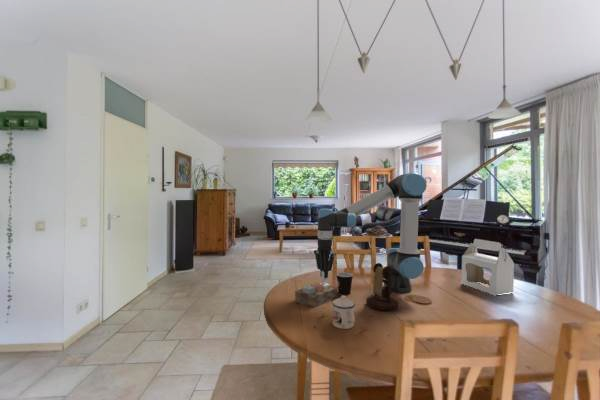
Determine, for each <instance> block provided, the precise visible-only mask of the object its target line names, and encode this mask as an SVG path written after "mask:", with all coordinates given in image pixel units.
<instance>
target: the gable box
mask: <svg viewBox="0 0 600 400" xmlns="http://www.w3.org/2000/svg"><path fill="white" fill-rule="evenodd" d="M503 246H504V244H502V243H501V242H499V241H493V240H492V241H491V240H486V239H480V238H474V240H473V243H472V242H470V244H469V246H468V248H467V249H466V250H465V251H464V252H463V254H462V255H461V285H462V284H464V285H463V286H465V285H467V286H466V287H468V286H470V287H473V288H476V289H479V290H482V291H485V292H488V293H492V294H494V295H498V294H503V293H509V292H513V293H514V281H515V278H514V275H515V262H514V261H513V259H512V257H511V256H510V254H509V253H508V251H507V249H505V248H503ZM478 248H482V249H488V250H493V251H497V252H498V256H493V255H487V254H485V253H479V252H478ZM485 268H486V269H489V270H490V271H491V275H490V276H489V280H488V279H485V277H484V275H485V271H484V269H485ZM477 282H481V283H484V284H488V285H489V287H485V286H483V285H481V284H480V283H477ZM470 287H469V288H470ZM473 288H472V289H473ZM476 289H475V290H476ZM479 290H478V291H479ZM482 291H481V292H482ZM485 292H484V293H485ZM488 293H487V294H488Z"/></svg>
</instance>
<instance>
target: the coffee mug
mask: <svg viewBox="0 0 600 400" xmlns="http://www.w3.org/2000/svg"><path fill="white" fill-rule="evenodd" d="M353 276H354V275H353V273H350V272H338V273H336V283H337V288H338V289H337V294H339V295H341V296H343V295H344V296H350V295H351V291H352V283H353Z"/></svg>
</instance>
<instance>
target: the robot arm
mask: <svg viewBox="0 0 600 400" xmlns="http://www.w3.org/2000/svg"><path fill="white" fill-rule="evenodd" d="M426 190H427V181H426V179H425V177H424V175H421V174H420V173H417V172H408V173H404V174H400V175H398V176H396V177H395V178H393V179H391V180H390V181H388V182H386V183H385V184H383V187H381V188H379V189H377V190H376V191H373V192H371V193H370V194H369V195H366V196H364V197H362V198H361V199H359V200H357V201H355V202H353V203H352V204H350V205H348V206H346V207H344V208H343V209H341V210H337V211H335V212H334V211H333V209H332V208H319V209H318V213H317V249H315V250H313V253H314V255H315V261H316V269H317V270H319V271H320V277H321V282H320V283H321V284H323V285H324V284H327V283H328V278H329V272H331V271H332V269H333V265H334V260H335V258H336V256H337V254H336V252H333V249H332V247H333V239H332V238H333V228H355V227H356V225H357V217H359V216H360V215H362V214H364V213H366V212H368V211H370V210H372V209H374V208H375V207H378V206H379V205H381V204H383V203H384V202H387V201H389V200H390V199H391V200H394V199H396V198H398V200H399V201H400V203H401V205H400V229H399V230H400V233H399V234H400V235H399V247H390V248H388V249H387V256H386V257H387V259H386V260H387V261H386V263H387V265H386V266H389V267H391V269H392V275H391V282H392V285H391V286H390V287H391V289H392V293H401V294H402V293H403V294H404V293H410V292H411V291H413V290H412V289H413V288H412V287H413V285H412V283H411V280H414V279H417V278H419V277H420V276H422V274H423V272H424V263H423V261H422V259H421V251H420V250H419V249H418V238H419V237H418V236H419V235H418V233H419V214H420V213H419V211H420V209H419V208H420V207H419V205H420V202H421V201H422V200H423V193H425V191H426ZM384 280H386V279H384ZM387 281H388V279H387ZM385 286H388V285H387V284H386V283H385V282H383V288H384V287H385Z"/></svg>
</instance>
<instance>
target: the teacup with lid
mask: <svg viewBox="0 0 600 400" xmlns="http://www.w3.org/2000/svg"><path fill="white" fill-rule="evenodd" d="M331 304H332V325H333V326H334V327H336V328H337V329H340V330H341V329H342V330H348V329H351V328H353V327H354V325H355V321H356V319H355V318H356V316H355V306H356V304H355V302H354V301H353V300H352V299H349V298H347V295H341V296H340V297H339V298H335V299H333V300H332V303H331Z"/></svg>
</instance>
